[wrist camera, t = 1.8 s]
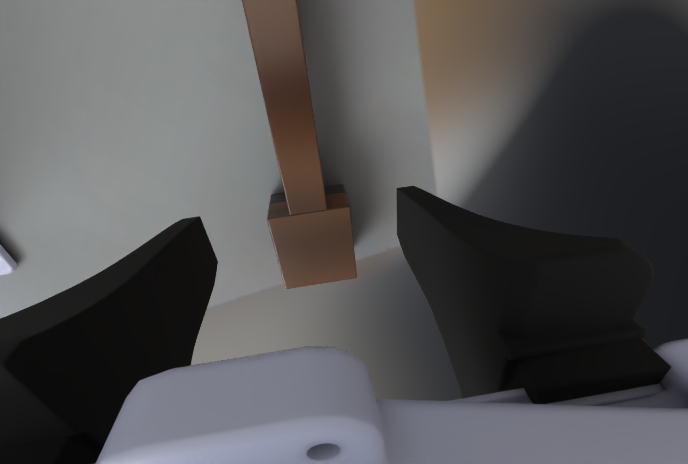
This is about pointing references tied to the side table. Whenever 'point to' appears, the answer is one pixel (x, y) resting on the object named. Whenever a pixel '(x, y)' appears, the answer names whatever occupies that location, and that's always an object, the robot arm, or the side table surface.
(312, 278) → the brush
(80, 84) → the side table surface
